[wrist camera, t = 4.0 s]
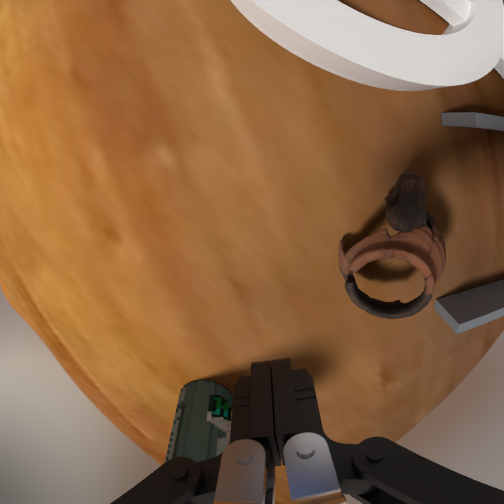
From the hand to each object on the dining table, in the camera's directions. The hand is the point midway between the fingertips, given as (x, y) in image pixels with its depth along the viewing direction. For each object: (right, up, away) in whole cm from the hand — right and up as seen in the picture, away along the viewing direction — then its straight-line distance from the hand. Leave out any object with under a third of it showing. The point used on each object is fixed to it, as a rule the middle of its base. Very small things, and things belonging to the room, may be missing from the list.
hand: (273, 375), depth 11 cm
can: (-6, -12, +21) cm, 25 cm away
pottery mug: (+11, +7, +14) cm, 19 cm away
